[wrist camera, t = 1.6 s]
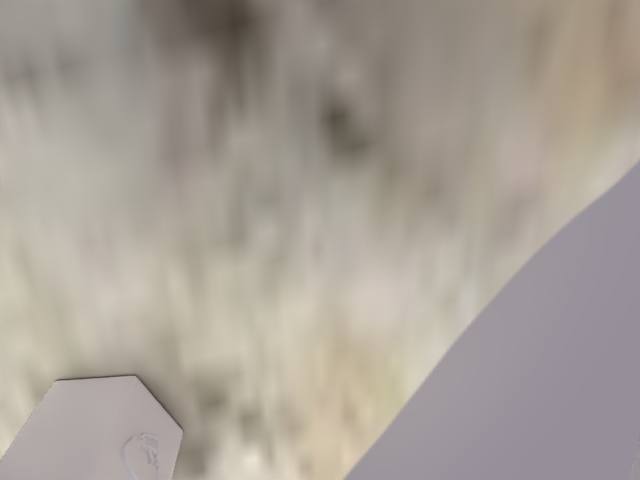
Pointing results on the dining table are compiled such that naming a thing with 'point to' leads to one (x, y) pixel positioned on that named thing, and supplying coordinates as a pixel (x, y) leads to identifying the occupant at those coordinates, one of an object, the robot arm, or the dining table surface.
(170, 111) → the dining table surface
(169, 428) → the jar
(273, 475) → the dining table surface
